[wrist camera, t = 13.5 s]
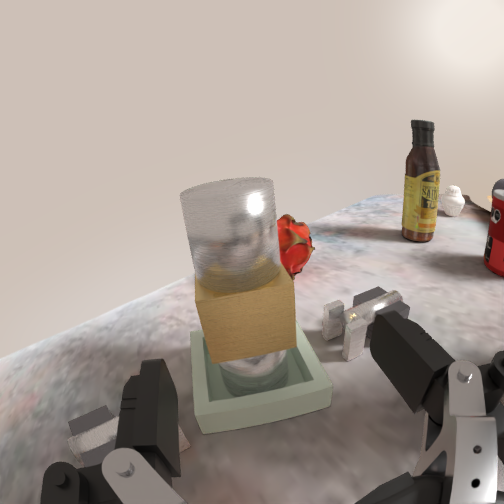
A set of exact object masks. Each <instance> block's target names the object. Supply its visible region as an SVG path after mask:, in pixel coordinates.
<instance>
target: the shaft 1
mask: <svg viewBox="0 0 504 504" xmlns="http://www.w3.org/2000/svg"><path fill="white" fill-rule="evenodd" d="M118 421H119V416H117V417H115V418H114V416H113V415H112V413H111V412H110V410H109V409H108V408H107V406H106V405H105V406H103V407H101V408H99V409H96V410H94V411H92V412H90V413H88V414H85V415H83V416H81V417H79V418H76V419H74V420H72V421H69V422H68V423H69V426H70V429H71V432H72V435H73V437H70V438H68V439H67V441H68V445H69V447H70V449H71V451H72V453H73V454H74V456H75V457H76V459H77V460H78V461H79V462H80V463H81V464H82V465H84V466H85V467H89V466H94V465H97V464H100V463H102V462H103V460H104V458H105V457H106V456H107V455H108V454H109V453H110V452H111V451H113V450H114V448H115V443H116V435H117V428H118ZM178 431H179V453H180V452H182V451H184V450H186V449H187V448H189V447H191V446H190V444H189V442H188V441H187V439H186V437H185V435H184V433H183V431H182V430H181V428H180V426H179V424H178Z"/></svg>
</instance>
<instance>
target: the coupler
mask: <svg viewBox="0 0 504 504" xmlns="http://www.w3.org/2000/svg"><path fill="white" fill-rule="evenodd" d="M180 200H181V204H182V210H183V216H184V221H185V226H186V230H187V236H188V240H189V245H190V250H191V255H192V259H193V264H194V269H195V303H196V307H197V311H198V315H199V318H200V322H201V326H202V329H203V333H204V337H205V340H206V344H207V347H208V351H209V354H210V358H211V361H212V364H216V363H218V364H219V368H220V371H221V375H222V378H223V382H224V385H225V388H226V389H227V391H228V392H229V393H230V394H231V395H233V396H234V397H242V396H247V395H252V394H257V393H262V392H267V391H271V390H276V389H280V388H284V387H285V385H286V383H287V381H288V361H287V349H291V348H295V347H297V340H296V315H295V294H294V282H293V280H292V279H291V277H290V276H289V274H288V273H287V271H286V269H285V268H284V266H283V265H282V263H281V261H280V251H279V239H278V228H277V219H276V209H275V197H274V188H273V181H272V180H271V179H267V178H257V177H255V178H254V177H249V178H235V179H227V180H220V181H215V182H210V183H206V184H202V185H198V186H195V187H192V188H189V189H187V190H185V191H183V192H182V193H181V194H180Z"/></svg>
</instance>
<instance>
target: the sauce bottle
mask: <svg viewBox="0 0 504 504" xmlns="http://www.w3.org/2000/svg"><path fill="white" fill-rule="evenodd" d="M411 127H412V131H413V132H412V134H413V142H412V144H413V148H412V149H411V151H410V153H409V155H408V156H407V159H406V174H405V185H404V187H405V188H404V202H403V215H402V235H403V236H404V237H405V238H407V239H410V240H412V241H422V242H425V241H430V240H431V239H432V238H433V234H434V231H435V226H436V218H437V208H438V197H439V183H440V169H439V165H438V161H437V157H436V154H435V150H434V141H433V132H434V123H433V122H431V121H423V120H411Z"/></svg>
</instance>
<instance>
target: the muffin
mask: <svg viewBox="0 0 504 504" xmlns="http://www.w3.org/2000/svg"><path fill="white" fill-rule="evenodd" d="M441 201H442V205H443V208H444V211H445V214H446V215H448V216H453V217H457V216H458V215H459V213H460V212H461V210H462V208H463V205H464V204H465V200H464V198H463V197H462V194H461V190H460V188H458V187H456V186H455V185H454V186H448V187H447V191H446V192H445V194H443V195H442V196H441Z"/></svg>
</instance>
